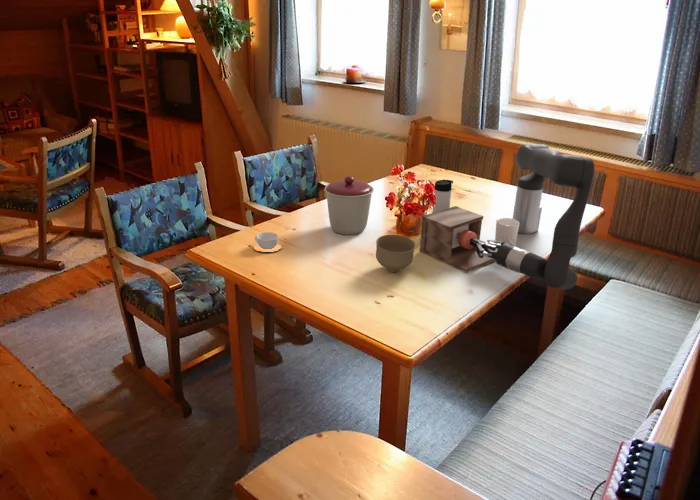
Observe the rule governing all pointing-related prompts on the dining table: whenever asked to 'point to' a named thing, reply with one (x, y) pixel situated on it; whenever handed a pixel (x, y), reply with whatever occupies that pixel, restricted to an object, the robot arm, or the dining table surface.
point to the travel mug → (442, 195)
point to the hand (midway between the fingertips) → (471, 241)
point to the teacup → (267, 240)
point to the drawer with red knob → (463, 237)
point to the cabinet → (451, 238)
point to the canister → (348, 205)
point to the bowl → (395, 252)
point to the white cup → (507, 230)
